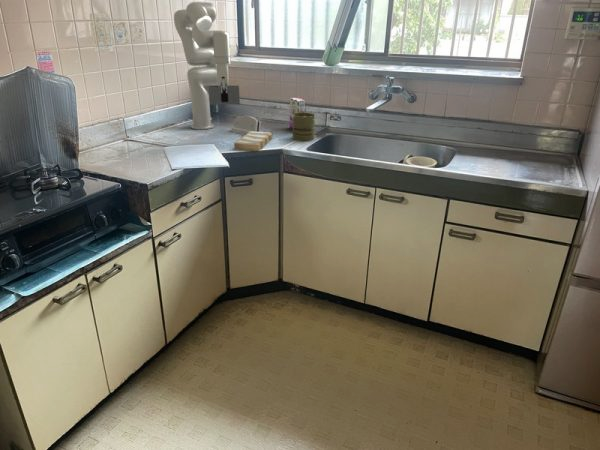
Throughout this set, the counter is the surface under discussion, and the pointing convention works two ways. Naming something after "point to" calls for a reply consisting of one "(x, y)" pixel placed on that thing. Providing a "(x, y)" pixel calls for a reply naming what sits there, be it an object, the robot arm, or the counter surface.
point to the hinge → (246, 124)
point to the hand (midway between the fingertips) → (224, 100)
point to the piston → (303, 127)
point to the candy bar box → (296, 108)
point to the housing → (216, 95)
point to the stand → (253, 141)
